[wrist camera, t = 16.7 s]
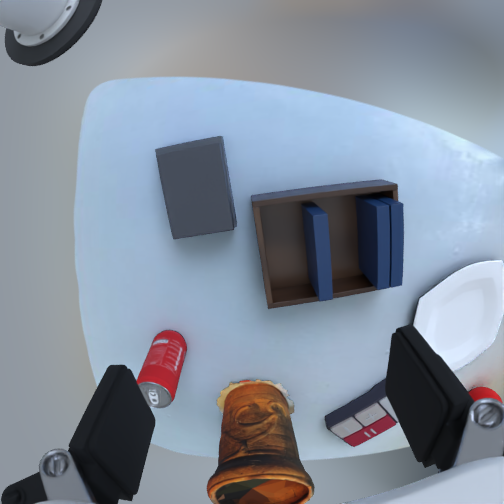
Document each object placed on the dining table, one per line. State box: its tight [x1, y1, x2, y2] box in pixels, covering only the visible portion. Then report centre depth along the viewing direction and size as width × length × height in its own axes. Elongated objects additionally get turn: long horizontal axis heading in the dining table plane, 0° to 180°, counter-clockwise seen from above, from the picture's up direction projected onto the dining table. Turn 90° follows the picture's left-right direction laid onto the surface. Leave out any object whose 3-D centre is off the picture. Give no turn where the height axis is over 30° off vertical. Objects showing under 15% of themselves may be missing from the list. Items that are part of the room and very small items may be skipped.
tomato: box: [468, 387, 502, 402], centre depth 47 cm, size 12×12×13 cm
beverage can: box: [136, 330, 187, 408], centre depth 39 cm, size 5×5×12 cm
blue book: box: [301, 202, 333, 301], centre depth 36 cm, size 10×2×7 cm, turn 9°
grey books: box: [155, 136, 237, 239], centre depth 35 cm, size 11×8×4 cm
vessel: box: [207, 379, 314, 504], centre depth 40 cm, size 14×14×20 cm
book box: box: [251, 180, 398, 309], centre depth 38 cm, size 13×17×5 cm
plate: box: [413, 260, 504, 372], centre depth 44 cm, size 23×23×2 cm
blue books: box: [355, 194, 404, 290], centre depth 36 cm, size 10×3×7 cm, turn 9°
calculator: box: [325, 379, 399, 447], centre depth 49 cm, size 11×4×15 cm
